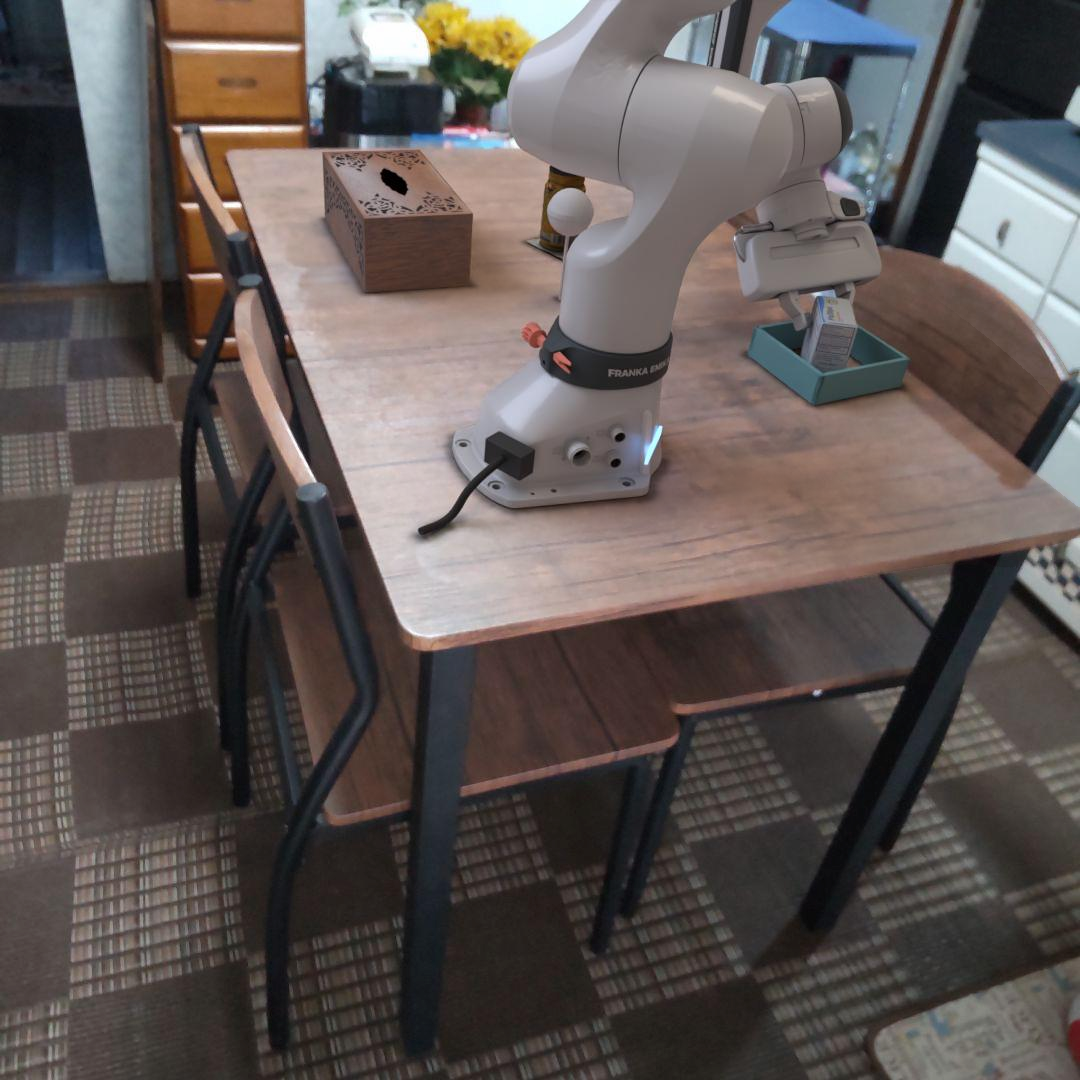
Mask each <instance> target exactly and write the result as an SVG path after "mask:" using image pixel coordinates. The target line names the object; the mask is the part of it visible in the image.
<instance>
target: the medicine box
mask: <svg viewBox="0 0 1080 1080" xmlns="http://www.w3.org/2000/svg"><path fill="white" fill-rule="evenodd" d="M852 307H853V305H851V301H850V300H848V299H842V298H840V297H836V296H826V295H817V296H816V297H815V299H814V302H813V305H812V309H811V312H810V314H811V320H812V321H813V326H812V327H810V328H808V329H807V331H806V334H805V338H804V341H803V345H802V348H800V349H801V350H800V354H799V356H800V357H801V358H802V359H804V360H805V361H807V362H808V363H809V364H811V365H812V366H813V367H815V368H816V369H818V370H819V371H820V372H822V373H827V372H832V371H837V370H842V369H847V365H848V362H849V358H850V357H851V356H850V352H851V349H852V346H853V342H854V339H855V336H856V332H857V329H858V326H857V324H858V323H857V318H856V314H855V311H854V312H853V310H854V307H853V308H852ZM854 314H855V315H854Z"/></svg>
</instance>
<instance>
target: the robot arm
mask: <svg viewBox="0 0 1080 1080" xmlns="http://www.w3.org/2000/svg"><path fill="white" fill-rule="evenodd" d="M792 1H793V0H588V2H587V3H586V4H585V6H584V7H583V8H582V9H581V10H580V11H579V12H578V13H577V15H575V16H574V17H573V18H572V19H571V20H570V21H569V22H568V23H566V24H565V25H564V26H563V27H562V28H560V29H558V30H557V31H556V32H554V33H553V34H551V35H550V36H548V37H545V38H544V39H542V40H540V41H538V42H537V43H535V44H534V45H533V46H532V47H530V48H529V49H528V51H526V53H525V54H524V55H523V56H522V57H521V58H520V60H519V62H518V63H517V65H516V67H515V69H514V71H513V73H512V76H511V78H510V81H509V84H508V87H507V93H506V116H507V123H508V126H509V130H510V132H511V135H512V137H513V139H514V142H515V143H516V145H517V147H519V149H520V150H522V151H523V152H525V153H527V154H528V155H531V156H532V157H534V158H536V159H537V160H539V161H541V162H543V163H545V164H547V165H549V166H550V165H551V166H553V167H555V168H557V169H559V170H561V171H563V172H567V173H571V174H575V175H578V176H582V177H585V179H590V180H593V181H597V182H601V183H604V184H605V183H606V184H609V185H613V186H616V187H620V188H623V189H626V190H627V191H630V192H631V193H632V204H631V209H630V212H629V215H625V216H621V217H617V218H612V219H607V220H605V221H601V222H599V223H596V224H594V225H591V226H588V228H587V229H586V230H584V231H583V232H582V233H580V234H579V235H578V237H577V238H576V239H575V240H574V241H573V243H572V245H571V246H570V248H569V251H568V253H567V256H566V263H565V271H564V280H563V289H562V297H561V300H560V305H559V314H558V315H557V316H556V318H555V320H554V321H553V323H552V325H551V327H550V328H549V331H548V333H547V332H546V331H545V330H544V329H542V328H541V327H540V325H539V324H538V323H537V322H535V321H530V322H528V323H526V324H525V325H524V327H522V331H521V338H522V339H523V340H524V341H525V342H527V343H528V345H529V346H530V347H531V348H533V349H538V348H540V349H539V352H538V355H537V356H535V357H534V358H532V359H531V360H530V361H529V362H527V363H526V364H524V365H523V366H522V367H520V368H519V369H518V370H517V371H515V372H514V373H513V374H511V375H510V376H509V377H507V378H506V379H504V380H503V381H502V382H500V383H499V384H498V385H496V386H495V387H494V388H492V389H490V390H489V391H488V392H487V393H486V394H485V396H484V397H483V398H482V401H481V403H480V405H479V406H480V407H479V409H478V412H477V417H476V420H475V423H474V424H471V425H470V424H469V425H468V426H464V427H462V428H459V429H457V430H456V431H455V432H454V435H453V438H452V440H453V441H452V444H451V445H452V447H451V450H452V454H453V457H454V460H455V462H456V464H457V466H458V467H459V469H460V470H461V472H462V473H463V475H464V476H465V477H466V479H468V481H469V482H468V483H467V485H466V486H465V487H464V488H463V490H462V491H461V492H460V494H459V496H458V498H457V499H456V501H455V503H454V504H453V506H452V507H451V509H450V510H449V511H448V512H447V513H446V514H445V515H443V516H442V517H441V518H440V519H438V520H435V521H432V522H430V523H428V524H425V525H423V526H420V527H418V528H417V533H418V534H419V536H423V537H424V536H425V535H427V534H430V533H432V532H435V531H438V530H440V529H442V528H445V527H446V526H447V525H449V524H450V523H451V522H452V521H454V520H455V519H456V518H457V517H458V515H459V514H460V512H461V511H462V509H463V508H464V506H465V504H466V503H467V501H468V500H469V498H470V496H471V494H473V493H474V491H475V490H476V489H477V490H478V491H479V492H480V493H482V494H483V495H484V496H486V497H487V498H488V499H490V500H492V501H494V502H495V503H497V504H499V505H501V506H503V507H506V508H509V509H522V508H533V507H542V506H553V505H562V504H563V505H564V504H575V503H585V502H595V501H603V500H604V501H605V500H615V499H624V498H625V499H626V498H635V497H643V496H645V495H647V494H648V493H649V490H650V483H651V477H652V476H653V474H654V473H655V472H656V471H657V470H658V468H659V466H660V465H661V462H662V460H663V450H662V444H661V435H662V431H663V426H662V425H660V414H661V413H660V410H661V395H662V386H663V378H664V377H665V376H666V374H667V373H668V370H669V365H670V359H671V355H672V347H673V342H674V335H673V332H672V325H673V319H674V315H675V311H676V306H677V303H678V298H679V294H680V291H681V287H682V284H683V281H684V277H685V273H686V271H687V268H688V266H689V263H690V262H691V260H692V258H693V256H694V254H695V253H696V251H697V250H698V248H699V247H700V245H701V244H702V243H703V242H704V241H705V240H706V238H707V237H709V235H710V234H711V233H713V232H714V231H715V229H718V227H719V226H721V225H723V224H724V223H725V222H726V221H728V220H729V219H732V218H734V217H736V216H737V215H740V214H743V213H744V212H746V211H747V212H748V211H749V210H751V209H755V212H756V217H757V219H758V223H755V224H744V225H741V226H740V227H739V228H738V230H736V231H735V233H734V235H733V238H732V244H733V248H734V252H735V255H736V267H737V274H738V280H739V284H740V290H741V294H742V296H743V297H744V298H745V299H746V300H747V302H749V303H758V302H765V301H771V300H777V299H778V303H779V306H780V308H781V309H782V311H784V313H786V315H787V316H788V317H789V318H790V319H791V321H793V324H794V328H795V330H796V331H801V330H806V329H808V328H810V327H812V326H813V321H812V320H811V312H810V311H807V312H805V310H804V309H803V307H802V306H801V305H800V304H799V302H798V301H799V300H800V296H801V295H808V294H814V293H821V292H822V293H823V292H828V291H833V290H834V294H835V298H842V299H848V300H850V301H851V305H852V308H853V312H854V315H855V316H856V314H855V309H854V306H853V305H854V301H855V295H856V292H857V291H856V287H860V286H864V285H866V284H869V283H870V282H872V281H874V280H876V279H878V278H879V277H880V276H881V272H882V269H883V264H882V260H881V255H880V251H879V247H878V245H877V242H876V238H875V236H874V234H873V233H874V232H873V231H872V228H871V227H870V226H869V224H868V223H866V222H865V221H863V220H862V219H863V218H865V216H866V215H867V212H866V208H865V207H866V206H865V204H864V202H862V201H861V200H858V199H855V198H851V197H848V196H844V195H842V194H839V193H836V192H834V191H831V190H828V188H827V185H826V182H825V180H824V179H823V176H822V175H821V167H822V166H823V165H825V164H828V163H830V162H833V160H835V159H836V158H837V157H839V155H840V154H842V153H841V152H842V151H844V149H845V147H846V145H847V144H848V142H849V141H850V139H851V136H852V135H853V132H854V122H853V115H852V114H853V113H852V110H851V106H850V102H849V99H848V97H847V95H846V93H845V92H844V90H843V88H841V87H840V86H839V85H838V84H837V83H836V82H835V81H833V80H832V79H831V78H828V77H826V76H820V77H819V76H818V77H809V78H805V79H802V80H796V81H792V82H788V83H786V82H771V83H767V84H762V83H760V82H758V81H755V80H754V79H751V76H752V71H753V67H754V62H755V57H756V56H755V55H756V53H757V47H758V43H759V40H760V37H761V34H762V33H763V31H764V29H765V28H766V26H767V25H768V23H769V22H770V21H771V20H772V18H774V16H776V14H778V13H779V12H780V11H781V10H782V9H783V8H784V7H786V6H787V5H788V4H790V3H791V2H792ZM711 15H714V20H713V25H712V30H711V31H712V32H711V38H710V43H709V50H708V53H707V54H708V55H707V61H706V65H705V64H700V63H696V62H692V61H687V60H684V59H683V60H682V59H679V58H678V59H677V58H673V57H668V56H665V53H666V51H667V49H668V47H669V45H670V43H671V42H672V40H673V39H674V38H675V37H676V36H677V34H678V33H679V32H680V31H681V30H682V29H683V28H685V27H686V26H687V25H688V24H690V23H692V22H693V21H695V20H698V19H701V18H704V17H707V16H711Z"/></svg>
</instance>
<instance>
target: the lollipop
mask: <svg viewBox="0 0 1080 1080" xmlns="http://www.w3.org/2000/svg"><path fill="white" fill-rule="evenodd" d="M547 214H548V219H549V222H550V224H551V226H552V227H553V228H554V229H555V230H556V231H557V232H558V233H560V234H562V235H565V236H566V239H565V248H564V256H563V259H562V266H561V273H560V274H561V275H560V283H559V291H558V292H559V293H558V301H561V297H562V289H563V280H564V271H565V263H566V256H567V252H568V243H569V236H575V235H579V234H580V233H582V232H583V231H584V230H586V229H588V228H589V227H590V225H591V224H592V221H593V218H594V215H595V209H594V207H593V203H592V201H591V199H590V197H589V196H588V195H587V194H586V193H584V192H582V191H580V190H578V189H575V188H566V189H563V190H561V191H559V192H557V193H556V194H555V195H554V196H553V197H552V199H551V200H550V202H549V204H548V208H547Z"/></svg>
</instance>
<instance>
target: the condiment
mask: <svg viewBox="0 0 1080 1080" xmlns="http://www.w3.org/2000/svg"><path fill="white" fill-rule="evenodd" d="M547 175H548V177H547V178H548V179H547V180H546V181H545V184H544V190H543V202H542V210H541V220H540V231H539V238H532V239H529V240H526V242H527V243H529V244H530V245H532V246H534V247H536V248H538V249H540V250H541V251H544V252H546V253H547V252H548V253H549V254H551V255H553V256H555V257H557V258H559V259H561V260H563V256H564V248H565V239H566V236H565V235H562V234H560V233H558V232H557V231H556V230H555V229H554V228H553V227H552V226H551V224H550V222H549V219H548V214H547V208H548V204H549V202H550V200H551V199H552V197H553V196H554V195H555V194H556V193H557V192H559V191H561V190H563V189H566V188H575V189H578V190H580V191H582V192H584V193H585V194H586V191H587V187H586V185H585V182H586V177H582V176H578V175H575V174H571V173H567V172H563V171H561V170H559V169H557V168H555V167H553V166H551V165H549V169H548V174H547ZM577 237H578V235H575V236H569V243H568V251H569V248H570V246H571V245H572V243H573V241H574V240H575V239H576V238H577ZM567 253H568V252H567Z"/></svg>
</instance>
